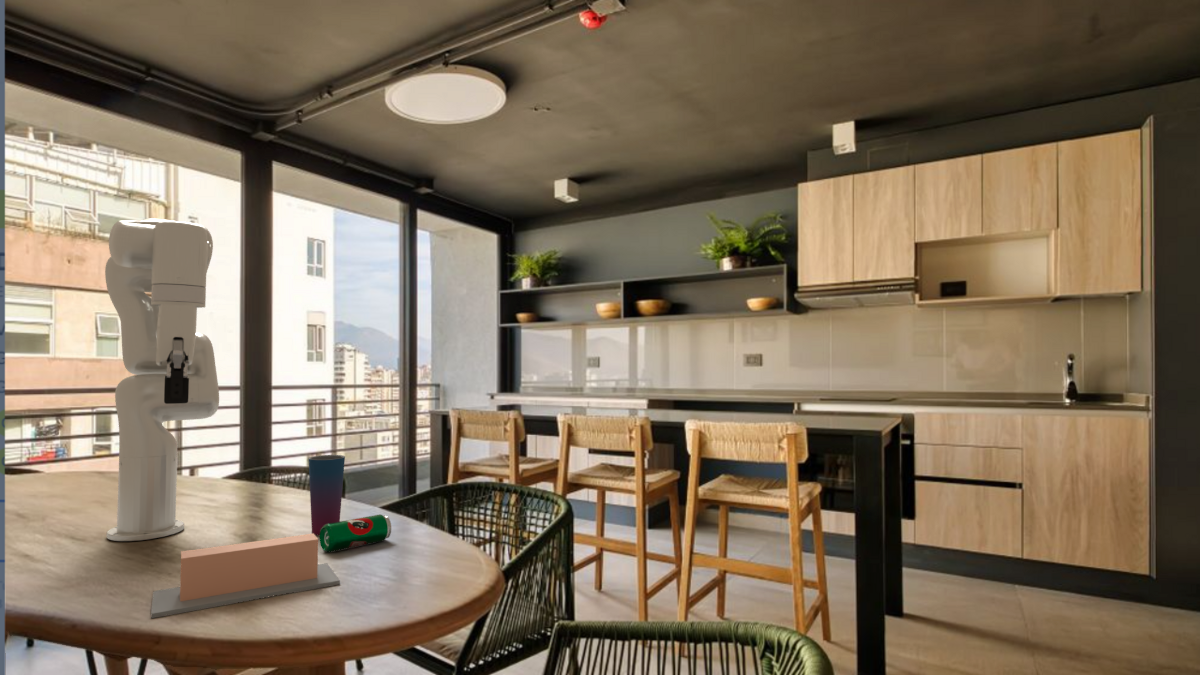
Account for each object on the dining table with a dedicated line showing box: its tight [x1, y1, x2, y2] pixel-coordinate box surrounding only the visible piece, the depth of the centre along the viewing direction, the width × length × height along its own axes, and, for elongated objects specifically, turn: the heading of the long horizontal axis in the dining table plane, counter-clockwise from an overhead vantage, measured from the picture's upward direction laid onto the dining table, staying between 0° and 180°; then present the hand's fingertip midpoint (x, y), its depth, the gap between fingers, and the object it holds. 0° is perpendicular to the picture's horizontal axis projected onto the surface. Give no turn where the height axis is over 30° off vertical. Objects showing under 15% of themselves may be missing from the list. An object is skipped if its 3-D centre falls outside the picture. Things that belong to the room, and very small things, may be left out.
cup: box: [308, 454, 346, 536], centre depth 129 cm, size 7×7×15 cm
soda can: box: [318, 514, 392, 554], centre depth 119 cm, size 5×5×12 cm
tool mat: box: [150, 563, 341, 619], centre depth 97 cm, size 10×24×1 cm, turn 124°
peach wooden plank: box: [179, 533, 319, 601], centre depth 97 cm, size 4×18×6 cm, turn 124°
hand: (175, 401), depth 106 cm, fingers open, 9 cm apart
